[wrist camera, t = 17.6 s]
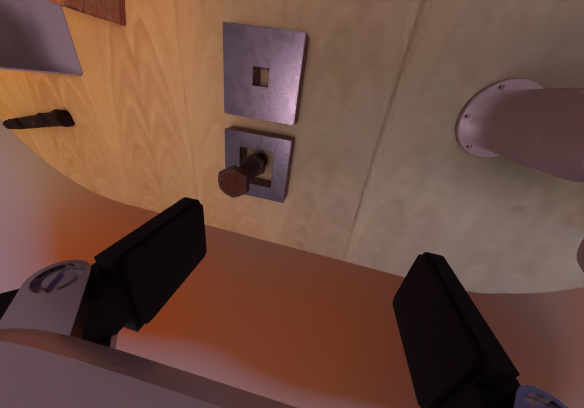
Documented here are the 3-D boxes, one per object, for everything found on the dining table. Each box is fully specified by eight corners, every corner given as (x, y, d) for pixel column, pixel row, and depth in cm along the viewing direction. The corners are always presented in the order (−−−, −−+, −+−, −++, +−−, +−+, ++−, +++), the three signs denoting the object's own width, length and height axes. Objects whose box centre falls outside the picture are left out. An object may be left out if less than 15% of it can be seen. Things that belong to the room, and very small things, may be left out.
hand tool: (69, 108, 53) (47, 109, 49) (77, 125, 54) (56, 128, 50) (16, 112, 57) (-9, 113, 52) (25, 128, 58) (2, 130, 54)
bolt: (270, 173, 50) (246, 201, 37) (250, 170, 50) (219, 196, 37) (271, 149, 47) (245, 169, 34) (250, 145, 48) (216, 164, 34)
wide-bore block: (295, 137, 45) (291, 141, 41) (286, 195, 51) (283, 202, 48) (233, 126, 46) (224, 128, 43) (233, 183, 53) (225, 190, 49)
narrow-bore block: (308, 38, 36) (305, 32, 33) (297, 122, 43) (293, 125, 40) (233, 28, 38) (222, 21, 34) (233, 111, 45) (224, 113, 41)
